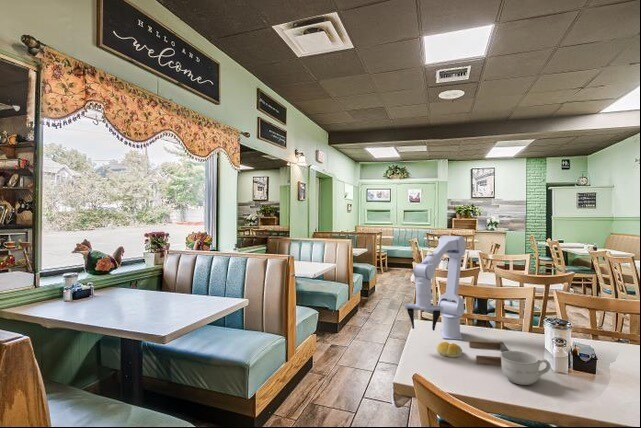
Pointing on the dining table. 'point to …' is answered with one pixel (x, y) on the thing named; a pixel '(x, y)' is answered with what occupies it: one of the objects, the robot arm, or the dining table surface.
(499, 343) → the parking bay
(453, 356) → the bread roll
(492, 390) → the dining table surface
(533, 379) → the teacup
